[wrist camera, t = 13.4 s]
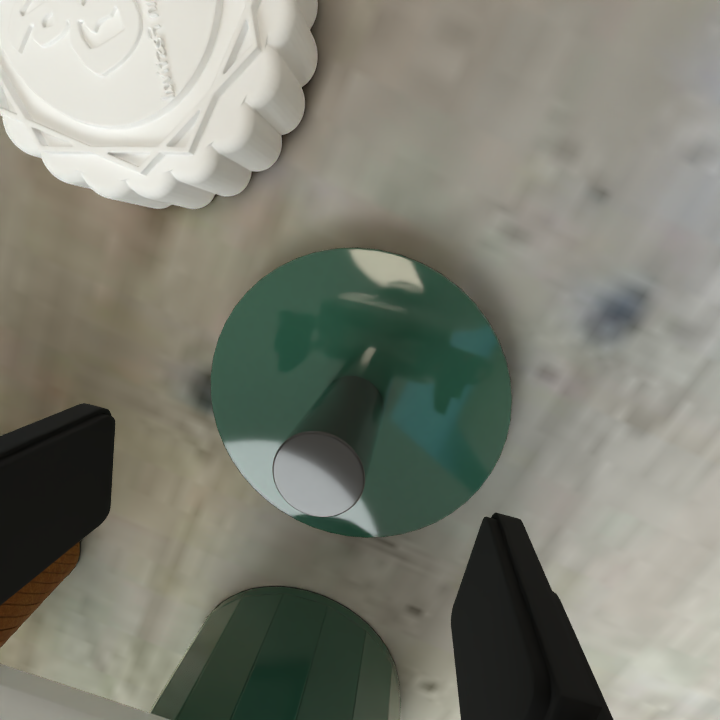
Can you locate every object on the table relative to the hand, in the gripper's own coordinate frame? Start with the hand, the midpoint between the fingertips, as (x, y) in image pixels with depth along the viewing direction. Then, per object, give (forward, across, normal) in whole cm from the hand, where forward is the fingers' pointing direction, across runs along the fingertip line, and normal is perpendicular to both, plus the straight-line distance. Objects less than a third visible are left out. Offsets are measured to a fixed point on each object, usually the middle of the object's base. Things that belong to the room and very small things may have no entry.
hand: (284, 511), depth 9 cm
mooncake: (+8, +9, -12) cm, 18 cm away
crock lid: (+7, 0, 0) cm, 7 cm away
